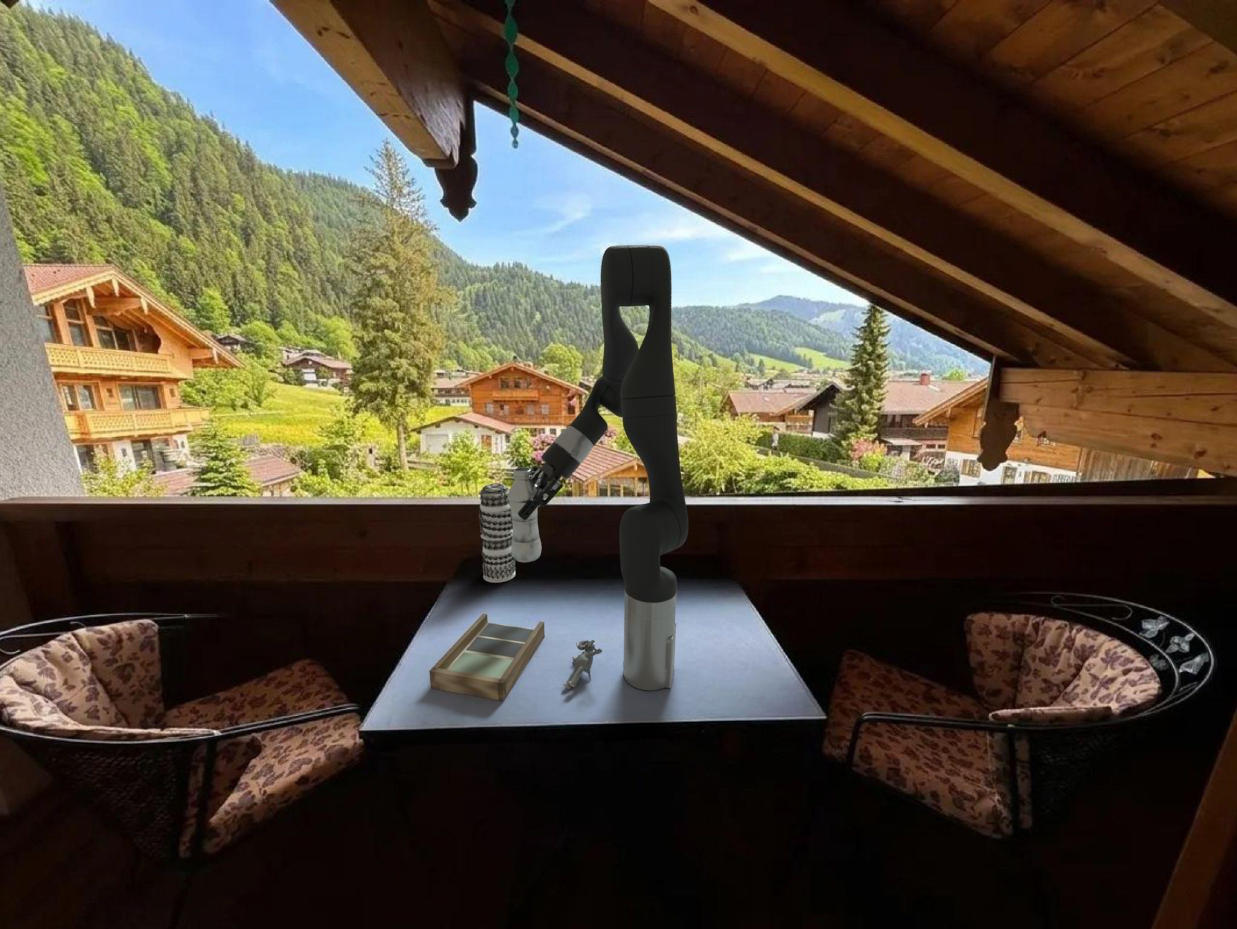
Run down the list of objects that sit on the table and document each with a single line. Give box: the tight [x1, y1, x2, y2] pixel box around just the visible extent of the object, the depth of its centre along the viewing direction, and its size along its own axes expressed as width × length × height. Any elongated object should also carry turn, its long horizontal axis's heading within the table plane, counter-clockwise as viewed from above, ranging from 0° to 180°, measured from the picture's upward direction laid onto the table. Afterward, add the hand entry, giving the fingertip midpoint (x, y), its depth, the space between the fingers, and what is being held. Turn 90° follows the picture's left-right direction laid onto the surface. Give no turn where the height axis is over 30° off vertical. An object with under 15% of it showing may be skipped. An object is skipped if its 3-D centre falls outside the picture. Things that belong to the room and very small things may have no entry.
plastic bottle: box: [508, 466, 542, 563], centre depth 97 cm, size 6×7×20 cm
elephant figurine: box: [563, 639, 603, 690], centre depth 84 cm, size 10×6×9 cm
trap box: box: [428, 613, 546, 702], centre depth 89 cm, size 14×19×4 cm
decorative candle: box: [476, 482, 516, 584], centre depth 121 cm, size 9×9×25 cm
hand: (516, 512), depth 96 cm, fingers closed on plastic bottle, 6 cm apart
